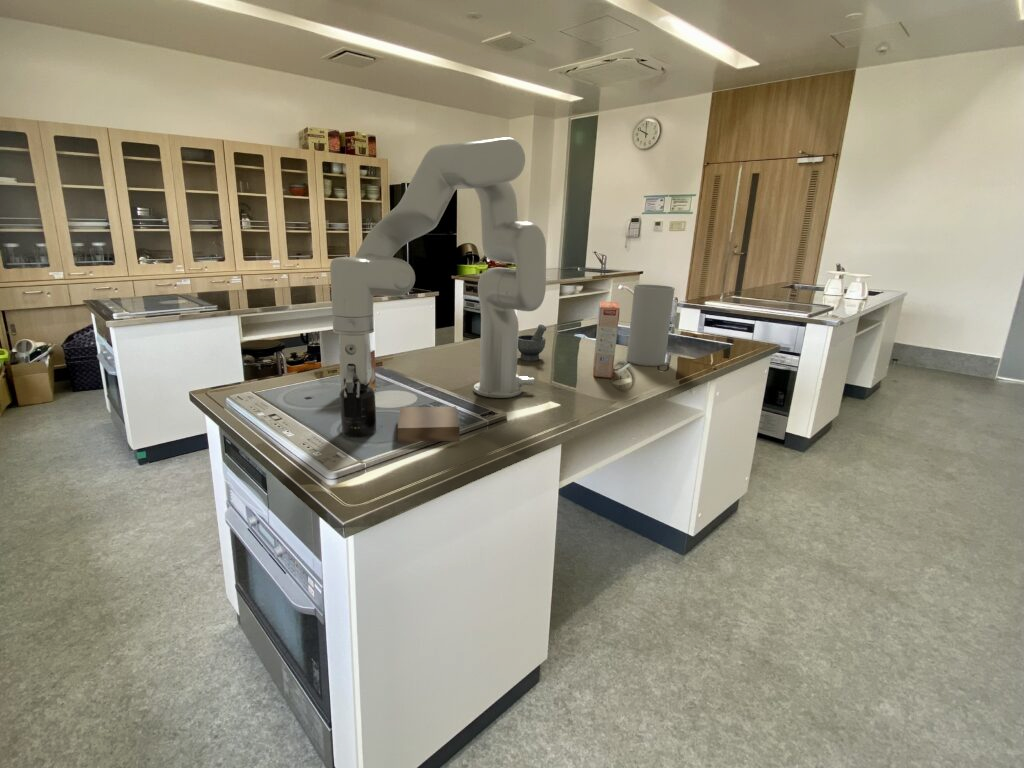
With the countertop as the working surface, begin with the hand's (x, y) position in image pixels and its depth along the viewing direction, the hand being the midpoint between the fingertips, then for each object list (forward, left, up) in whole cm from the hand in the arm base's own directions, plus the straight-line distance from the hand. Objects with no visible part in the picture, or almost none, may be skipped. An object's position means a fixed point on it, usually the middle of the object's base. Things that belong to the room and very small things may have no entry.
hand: (356, 408), depth 103 cm
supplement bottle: (0, 0, -5) cm, 5 cm away
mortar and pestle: (-48, -61, -5) cm, 78 cm away
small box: (+3, -26, -5) cm, 27 cm away
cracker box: (-67, -44, -5) cm, 81 cm away
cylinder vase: (-86, -56, -5) cm, 103 cm away
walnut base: (-14, 0, -5) cm, 15 cm away
